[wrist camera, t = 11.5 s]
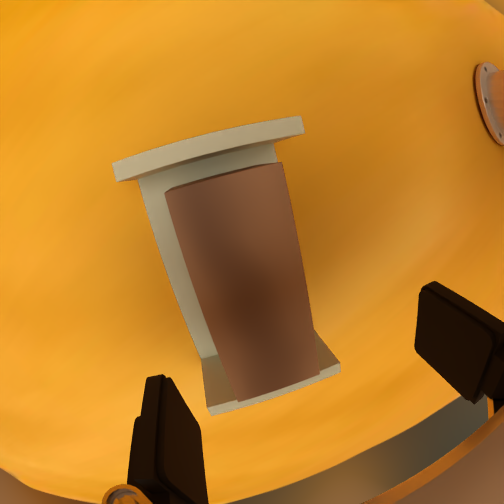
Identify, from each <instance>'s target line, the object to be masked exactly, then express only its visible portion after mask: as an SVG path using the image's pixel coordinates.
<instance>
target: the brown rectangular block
mask: <svg viewBox="0 0 504 504" xmlns="http://www.w3.org/2000/svg"><path fill="white" fill-rule="evenodd" d="M164 195H165V198H166V202H167V205H168V209H169V212H170V216H171V219H172V222H173V226H174V229H175V232H176V236H177V239H178V242H179V245H180V248H181V251H182V255H183V258H184V261H185V264H186V267H187V270H188V273H189V276H190V279H191V282H192V285H193V288H194V290H195V293H196V296H197V299H198V302H199V305H200V307H201V310H202V313H203V316H204V318H205V321H206V324H207V326H208V329H209V332H210V334H211V337H212V340H213V342H214V345H215V347H216V350H217V353H218V355H219V358H220V360H221V363H222V365H223V368H224V370H225V372H226V375H227V377H228V380H229V382H230V385H231V387H232V389H233V392H234V394H235V396H236V399H237V401H238V402H241V401H245V400H248V399H251V398H255V397H258V396H261V395H264V394H267V393H270V392H273V391H276V390H279V389H282V388H285V387H288V386H290V385H293V384H296V383H299V382H301V381H304V380H307V379H309V378H312V377H314V376H317V375H319V374H320V370H319V363H318V356H317V349H316V342H315V335H314V328H313V322H312V316H311V309H310V303H309V297H308V291H307V285H306V280H305V274H304V268H303V263H302V257H301V252H300V247H299V242H298V236H297V231H296V226H295V221H294V216H293V212H292V207H291V202H290V197H289V193H288V188H287V183H286V179H285V174H284V170H283V165H282V162H277V163H268V164H258V165H253V166H249V167H245V168H241V169H237V170H233V171H229V172H225V173H221V174H218V175H214V176H210V177H206V178H203V179H199V180H196V181H192V182H189V183H185V184H182V185H179V186H175V187H172V188H170V189H169V190H168V191H166V192H165V193H164Z"/></svg>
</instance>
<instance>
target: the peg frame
mask: <svg viewBox="0 0 504 504" xmlns="http://www.w3.org/2000/svg"><path fill="white" fill-rule="evenodd" d="M304 133H305V130H304V126H303V122H302V118H301V116H295V117H288V118H282V119H276V120H270V121H264V122H259V123H254V124H248V125H244V126H239V127H234V128H230V129H225V130H221V131H217V132H212V133H208V134H204V135H200V136H197V137H193V138H189V139H185V140H182V141H178V142H175V143H171V144H168V145H165V146H161V147H158V148H155V149H152V150H149V151H146V152H143V153H140V154H137V155H134V156H131V157H128V158H125V159H122V160H120V161H117V162H114V163H112V166H113V170H114V174H115V178H116V182H121V181H129V180H137V179H138V182H139V186H140V190H141V193H142V197H143V200H144V204H145V207H146V210H147V214H148V217H149V220H150V224H151V227H152V230H153V233H154V236H155V239H156V242H157V245H158V249H159V252H160V254H161V257H162V260H163V263H164V266H165V269H166V272H167V275H168V277H169V280H170V283H171V286H172V288H173V291H174V294H175V296H176V299H177V302H178V304H179V307H180V309H181V312H182V315H183V317H184V320H185V322H186V325H187V327H188V330H189V332H190V334H191V337H192V339H193V342H194V344H195V346H196V349H197V351H198V353H199V356H200V358H201V363H202V372H203V381H204V389H205V397H206V404H207V409H208V410H209V412H210V414H211V416H213V415H217V414H221V413H225V412H229V411H232V410H236V409H239V408H243V407H246V406H250V405H253V404H256V403H259V402H263V401H266V400H269V399H272V398H275V397H278V396H281V395H284V394H286V393H289V392H292V391H295V390H297V389H300V388H303V387H305V386H308V385H311V384H313V383H316V382H318V381H321V380H323V379H325V378H328V377H330V376H333V375H335V374H337V373H339V372H341V369H340V362H339V361H338V359H337V358H336V357H335V356H334V354H333V353H332V352H331V351H330V349H329V348H328V347H327V346H326V344H325V343H324V342H323V341H322V339H321V338H320V337H319V335H318V334H317V333H316V332H315V330H314V335H315V342H316V349H317V356H318V363H319V370H320V374H319V375H317V376H314V377H312V378H309V379H307V380H304V381H301V382H299V383H296V384H293V385H290V386H288V387H285V388H282V389H279V390H276V391H273V392H270V393H267V394H264V395H261V396H258V397H255V398H251V399H248V400H245V401H241V402H238V401H237V399H236V396H235V394H234V392H233V389H232V387H231V385H230V382H229V380H228V377H227V375H226V372H225V370H224V368H223V365H222V363H221V360H220V358H219V355H218V353H217V350H216V347H215V345H214V342H213V340H212V337H211V334H210V332H209V329H208V326H207V324H206V321H205V318H204V316H203V313H202V310H201V307H200V305H199V302H198V299H197V296H196V293H195V290H194V288H193V285H192V282H191V279H190V276H189V273H188V270H187V267H186V264H185V261H184V258H183V255H182V251H181V248H180V245H179V242H178V239H177V236H176V232H175V229H174V226H173V222H172V219H171V216H170V212H169V209H168V205H167V202H166V198H165V195H164V193H165V192H166V191H168V190H169V189H170V188H172V187H175V186H179V185H182V184H185V183H189V182H192V181H196V180H199V179H203V178H206V177H210V176H214V175H218V174H221V173H225V172H229V171H233V170H237V169H241V168H245V167H249V166H253V165H258V164H268V163H277V162H278V161H277V157H276V152H275V148H274V144H273V143H275V142H279V141H282V140H285V139H288V138H291V137H294V136H298V135H301V134H304Z"/></svg>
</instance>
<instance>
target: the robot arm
mask: <svg viewBox="0 0 504 504" xmlns="http://www.w3.org/2000/svg"><path fill="white" fill-rule="evenodd" d="M475 80H476V91H477V97H478V101H479V105H480V109H481V112H482V115H483V118H484V121H485V123H486V125H487V128H488V130H489V132H490V133H491V135H492V136H493V138H494V139H495V140H496V142H497V143H499V144H500V145H503V146H504V71H499V70H498V68H497V67H495V66H494V65H493V64H491V63H489V62H485V63H481V64H479V66H478V67H477V70H476V78H475ZM414 347H415V350H416V352H417V353H418V354H419V355H420V356H421V357H422V358H423V359H424V360H425V361H426V362H427V363H428V364H429V365H430V366H431V367H432V368H434V369H435V370H436V371H437V372H438V373H439V374H440V375H441V376H442V377H443V378H444V379H445V380H446V381H447V382H448V383H449V384H450V385H451V386H452V387H453V388H454V389H455V390H456V391H457V392H458V393H459V394H461V395H462V396H463V397H464V398H465V399H466V400H470V401H471V402H472V403H473V404H476V403H477V402H478V401H479V400H480V399H481V398H482V397H483V396H484V394H486V395H487V398H488V415H489V416H488V417H489V420H488V421H487V422H486V423H484V424H483V425H482V426H481V427H480V428H479V429H478V430H476V432H474V433H473V434H472V435H471V436H469V437H468V438H467V439H466V440H464V441H463V442H462V443H461V444H459V445H458V446H457V447H455V448H454V449H453V450H452V451H450V452H449V453H448V454H446V455H445V456H443V457H442V458H440V459H439V460H438V461H436V462H435V463H433V464H432V465H430V466H429V467H427V468H426V469H424V470H423V471H421V472H419V473H418V474H416V475H414V476H413V477H411V478H410V479H408V480H406V481H404V482H403V483H401V484H399V485H397V486H395V487H394V488H392V489H390V490H388V491H386V492H384V493H382V494H380V495H378V496H376V497H374V498H372V499H370V500H368V501H366V502H363V503H361V504H504V322H502V321H501V320H499V319H498V318H496V317H494V316H493V315H491V314H490V313H488V312H487V311H485V310H483V309H482V308H480V307H479V306H477V305H475V304H474V303H472V302H470V301H469V300H467V299H465V298H464V297H462V296H460V295H459V294H457V293H455V292H454V291H452V290H450V289H448V288H447V287H445V286H443V285H442V284H440V283H438V282H436V281H433V282H431V283H429V284H427V285H425V286H423V287H422V288H421V292H420V293H419V301H418V315H417V326H416V335H415V344H414ZM102 504H209V503H208V495H207V487H206V478H205V469H204V459H203V449H202V437H201V430H200V426H199V424H198V422H197V421H196V419H195V418H194V416H193V414H192V413H191V411H190V409H189V408H188V406H187V405H186V403H185V401H184V399H183V398H182V396H181V394H180V393H179V391H178V389H177V387H176V386H175V384H174V382H173V380H172V379H171V378H170V377H168V378H166V377H165V375H163V374H161V375H156V376H151V377H148V378H147V379H146V384H145V390H144V396H143V402H142V409H141V416H139V417H137V418H136V419H135V422H134V428H133V435H132V443H131V450H130V459H129V468H128V478H127V484H121V485H116V486H114V487H112V488H110V489H109V490H108V491H107V492H106V493H105V495H104V497H103V499H102Z"/></svg>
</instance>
